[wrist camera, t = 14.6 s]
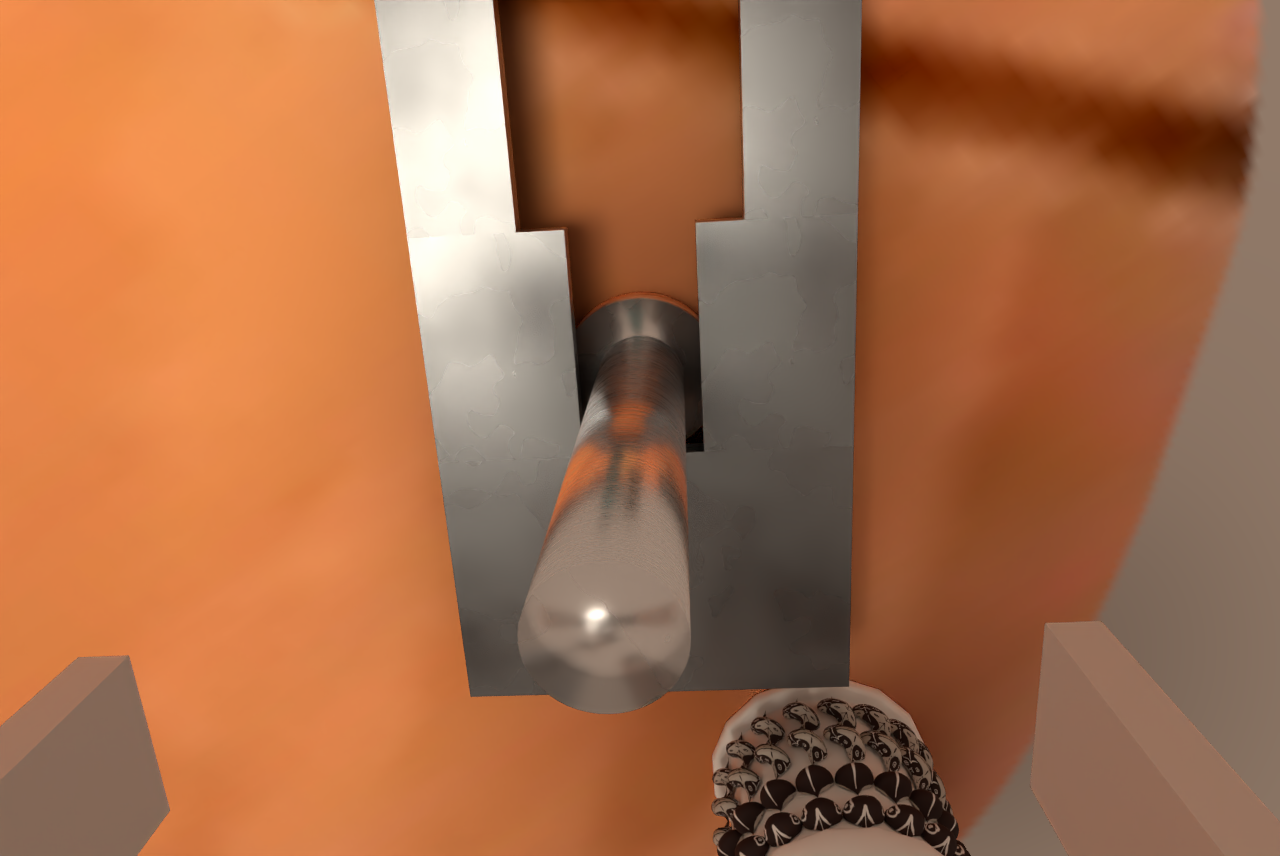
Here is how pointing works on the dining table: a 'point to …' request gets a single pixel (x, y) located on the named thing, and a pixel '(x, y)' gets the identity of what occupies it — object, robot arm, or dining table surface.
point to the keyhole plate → (728, 330)
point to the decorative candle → (828, 778)
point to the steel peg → (621, 515)
